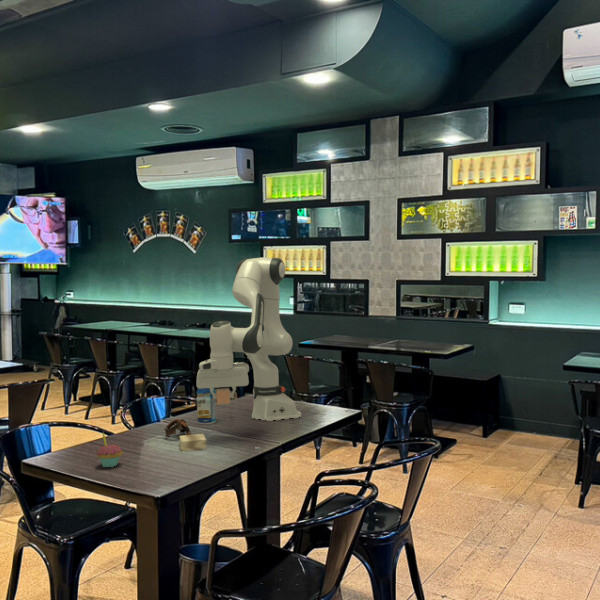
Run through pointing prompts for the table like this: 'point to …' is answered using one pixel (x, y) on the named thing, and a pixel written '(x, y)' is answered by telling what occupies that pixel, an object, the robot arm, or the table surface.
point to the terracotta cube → (223, 396)
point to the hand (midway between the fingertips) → (223, 398)
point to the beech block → (192, 442)
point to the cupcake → (109, 454)
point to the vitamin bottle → (206, 406)
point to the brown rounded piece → (177, 427)
